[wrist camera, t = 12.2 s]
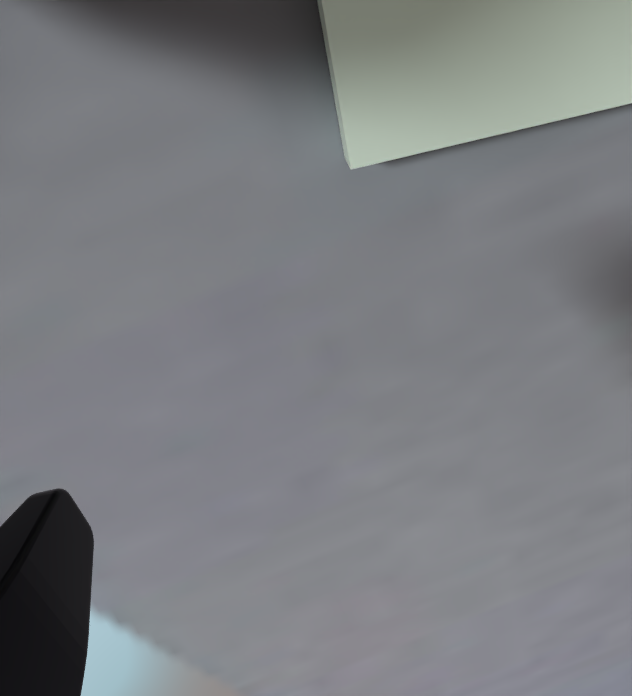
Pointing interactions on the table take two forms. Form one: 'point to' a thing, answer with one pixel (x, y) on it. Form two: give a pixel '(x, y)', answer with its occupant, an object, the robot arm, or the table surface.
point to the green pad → (469, 68)
